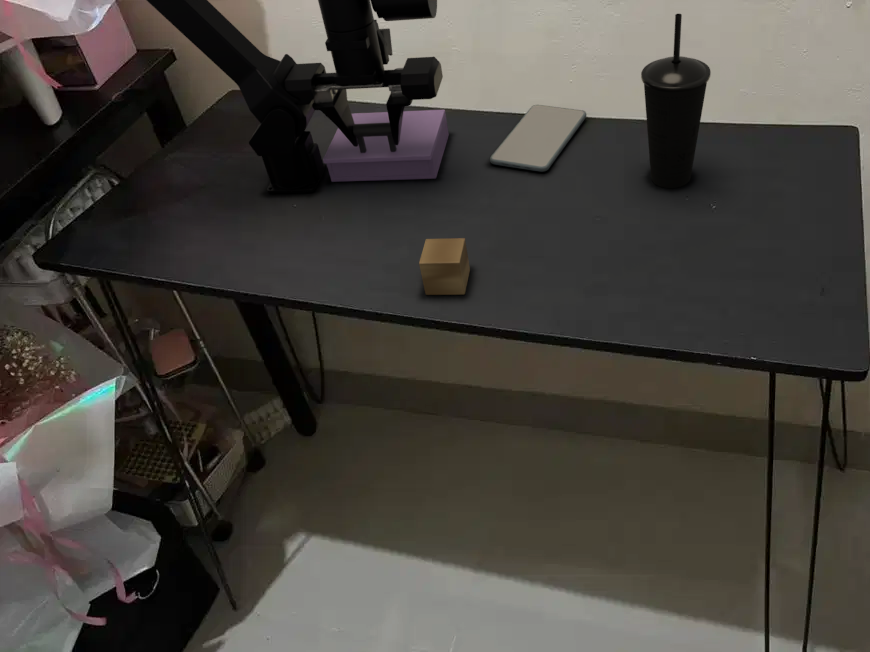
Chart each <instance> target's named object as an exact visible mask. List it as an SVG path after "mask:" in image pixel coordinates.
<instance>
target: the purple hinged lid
mask: <svg viewBox="0 0 870 652" xmlns="http://www.w3.org/2000/svg"><path fill="white" fill-rule="evenodd" d="M351 114H352V117H353V120H354V125H353V134H354V136H355V137H357V140H358V146H357V147H354V146H353V145H352V143H351V142H350V141H349V140H348V139H347V138H346V136H345V135H344V134H343V133H342V132H341V130H340V129H339V128H338V127H337V129H336V131H335V134H334V136H333V137H332V140H331V141H330V144H329V146H328V148H327V150H326V152H325V154H324V156H323V157H322V161H323V163H324V164H326V163H349V162H379V161H408V160H431V158H432V155H433V152H434V148H435V145H436V142H437V139H438V136H439V132H440V129H441V126H442V123H443V120H444V116H445V114H446V109H426V110H424V109H423V110H404V112H403V119H402V127H401V134H400V141H399V144H398V145H395V144H394V141H393V138H392V134H391V128H390V122H389V117H388V112H387V111H381V112H358V113H357V112H356V113H354V112H353V113H351Z"/></svg>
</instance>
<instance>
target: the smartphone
mask: <svg viewBox="0 0 870 652" xmlns="http://www.w3.org/2000/svg"><path fill="white" fill-rule="evenodd" d="M586 118H587V112H586V111H585V110H583V109H582V110H581V109H574V108H567V107H561V106H560V107H559V106H553V105H552V106H551V105H543V104H533V105H532V106H531V107H530V108H529V109H528V110H527V111H526V112H525V114H524V115H523V116H522V117H521V119H520V120H519V121H518V122H517V124H516V125H515V126H514V127H513V129H512V130H511V131H510V132H509V134H508V135H507V136H506V137H505V138H504V139H503V141H502V142H501V143H500V144H499V145H498V147H497V148H496V149H495V151H493V153H492V154H491V156H490V157H489V161H490V163H491V164H492V165H496V166H501V167H502V166H503V167H508V168H513V169H514V168H515V169H521V170H527V171H533V172H539V173H543V172H546V171H549V169H550V168H551V167H552V165H553V164H554V163H555V161H556V160H557V158H558V157H559V156H560V154H561V152H562V151H563V150H564V148H565V147H566V145H568V143H569V142H570V140H571V139H572V137H573V136H574V135H575V133H576V132H577V131H578V129H579V128H580V127H581V125H582V124H583V122H584V121H585V119H586Z"/></svg>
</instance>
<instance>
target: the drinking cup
mask: <svg viewBox="0 0 870 652" xmlns="http://www.w3.org/2000/svg"><path fill="white" fill-rule="evenodd" d="M682 19H683V18H682V14H681V13H676V14H674V35H673V54H672V55H673V56H668V57H667V56H666V57H663V58H660V59H656V60H653V61H651V62H649V63H648V64H646V65H645V66H644V67H643V68H642V70H641V72H640V79H641V82H642V83H643V88H644V102H645V115H646V116H645V117H646V130H647V143H648V155H649V166H650V167H649V170H650V180H651V181H652V183H653V184H654V185H656V186H658V187H661V188H665V189H676V188H680V187H683V186H685V185H687V184H688V183H689V182H690V181H691V177H692V173H693V167H694V166H693V165H694V161H695V155H696V148H697V143H698V138H699V131H700V126H701V119H702V114H703V109H704V108H703V107H704V102H705V96H706V91H707V84H708V82H709V80H710V78H711V75H712V72H711V68H710V66H709V65H708V64H707V63H705V62H704V61H702V60H701V59H696V58H693V57H687V56H681V39H682V38H681V35H682Z"/></svg>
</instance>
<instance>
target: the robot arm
mask: <svg viewBox="0 0 870 652" xmlns="http://www.w3.org/2000/svg"><path fill="white" fill-rule="evenodd" d="M145 1H146V2H147V3H148V4H150V5H151V7H153V8H154V9H155V10H156V11H157V12H158V13H159V14H160V15H162V16H163V18H165V19H166V20H167V21H168V22H170V24H171V25H172V26H174V28H176V29H177V30H178V32H180V33H181V35H183V36H184V37H185V38H186V39H188V41H189V42H191V44H193V45H194V46H195V47H196V48H197V49H198V50H199V51H200V52H202V54H203V55H205V56H206V57H207V58H208V59H209V60H210V61H211V62H212V63H213V64H215V65H216V66H217V67H218V68H219V69H220V70H221V71H222V72H223V73H224V74H225V75H226V76H228V77H229V78H230V79H231V80H232V81H233V82H234V83H235V84H236V86H238V88H239V91H240V93H241V94H242V98H243V99H244V102H245V104H246V106H247V108H248V110H249V111H250V113H251V114H252V115H253V116H254V118H256V120H257V121H258V122H259V123H258V125H257V127H256V129H255V131H254V132H253V134H252V135H251V137H250V139H249V141H248V144H249V146H250V147H251V149H252V150H253V151H254V153H255V154H256V155H257V156H258V157H261V159H262V162H263V165H264V168H265V170H266V174H267V176H268V179H269V182H270V183H269V184H268V186H267V188H266V191H267V193H268V194H296V193H297V194H299V193H300V194H301V193H314V192H315V191H316V189H317V186H318V185H319V183H320V181H321V179H322V178H323V174H324V172H325V171H326V167H327V165H326V163H324V162H323V157H322V154H321V151H320V147H319V144H318V143H317V142H314V139H313V136H312V132H311V130H307V127H308V125H309V123H310V121H311V120H312V117H313V115H314V113H315V111H320V112H322V114H324V115H325V117H327V118H328V119H329V121H331V123H333V124H334V125H335V126H336V127H337V129H338V128H339V129H340V130H341V132H342V133H343V134H344V135H345V136H346V138H347V139H348V140H349V141H350V142H351V143H352V145H353V146H354V147H357V146H358V140H357V137H355V136H354V134H353V125H354V120H353V117H352V114H353V113H352V111H351V108H350V105H349V101H348V93H347V92H348V91H347V90H359V89H360V90H361V89H378V88H379V89H380V88H388V91H389V92H390V94H389V95H388V98H387V101H386V103H385V105H386V112H388V117H389V122H390V128H391V134H392V138H393V141H394V144H395V145H398V144H399V141H400V134H401V127H402V119H403V112H404V111H405V107H409V106H411V105H412V103H413V101H418V100H431V99H434V98H436V97H437V96H438V93H439V90H440V86H441V84H442V80H443V78H444V75H443V69H442V64H441V62H440V61H439V60H438V59H437V58H436V56H421V57H419V56H418V57H407V58H406V60H405V63H404V65H403V67H397V68H394V69H385V66H384V65H388V64H389V62H390V57H389V56H391V57H392V56H393V45H392V36H391V28H380V26H379V23H378V20H377V19H375V17H374V13H376V16H377V18H378V19H383V21H385V22H397V21H411V20H412V21H413V20H425V19H427V20H429V19H435V18H436V17H437V13H438V12H437V11H438V0H317V2H318V5H319V10H320V14H321V18H322V22H323V26H324V30H325V34H326V38H327V39H326V40H325V42H324V44H325V48H326V52H330V54H331V59H332V62H333V66H334V70H335V72H327V71H326V67H325V65H324V64H323V63H322V62H308V63H297V62H296V61H295V60H294V58H293V57H292V56H290V55H289V54H288V53H285V54H284V55H283V57H282V58H281V60H279V59H277V58H274V57H271V56H269V55H266V54H265V53H263V52H262V51H260V49H259V48H258V47H257V46H256V45H254V44H253V43H252V41H250V40H249V39H248V38H247V37H246V36H245V35H244V34H243V33H242V32H241V31H240V30H239V29H238V28H237V27H236V26H235V25H234V24H233V23H232V22H231V21H229V19H228V18H226V17H225V16H224V15H223V13H221V12H220V11H219V10H218V9H217V8H216V6H214V5H213V4H212V3H211V2H210V1H209V0H145ZM373 11H374V13H373Z"/></svg>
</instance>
